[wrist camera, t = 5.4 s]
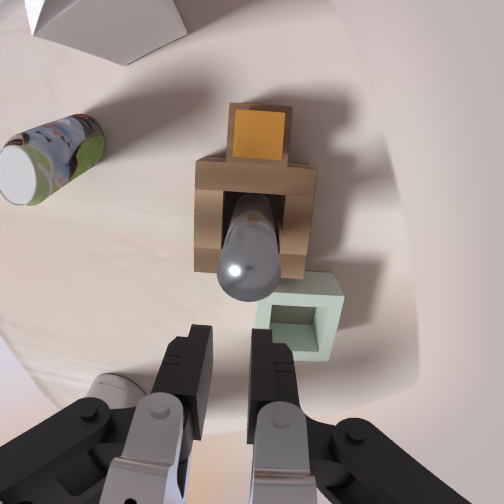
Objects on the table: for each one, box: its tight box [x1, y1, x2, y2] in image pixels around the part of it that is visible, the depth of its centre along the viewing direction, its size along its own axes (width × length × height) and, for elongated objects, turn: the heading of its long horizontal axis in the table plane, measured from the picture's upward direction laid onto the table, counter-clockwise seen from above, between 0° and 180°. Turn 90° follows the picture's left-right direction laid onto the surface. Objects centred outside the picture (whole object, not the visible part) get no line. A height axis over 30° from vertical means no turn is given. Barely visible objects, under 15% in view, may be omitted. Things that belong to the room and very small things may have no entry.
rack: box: [254, 271, 345, 361], centre depth 32 cm, size 8×8×5 cm
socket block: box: [194, 103, 317, 279], centre depth 28 cm, size 15×10×4 cm, turn 176°
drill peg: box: [217, 193, 281, 302], centre depth 24 cm, size 4×4×14 cm
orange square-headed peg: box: [233, 109, 285, 160], centre depth 25 cm, size 4×4×6 cm
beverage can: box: [0, 114, 104, 206], centre depth 23 cm, size 6×7×12 cm
